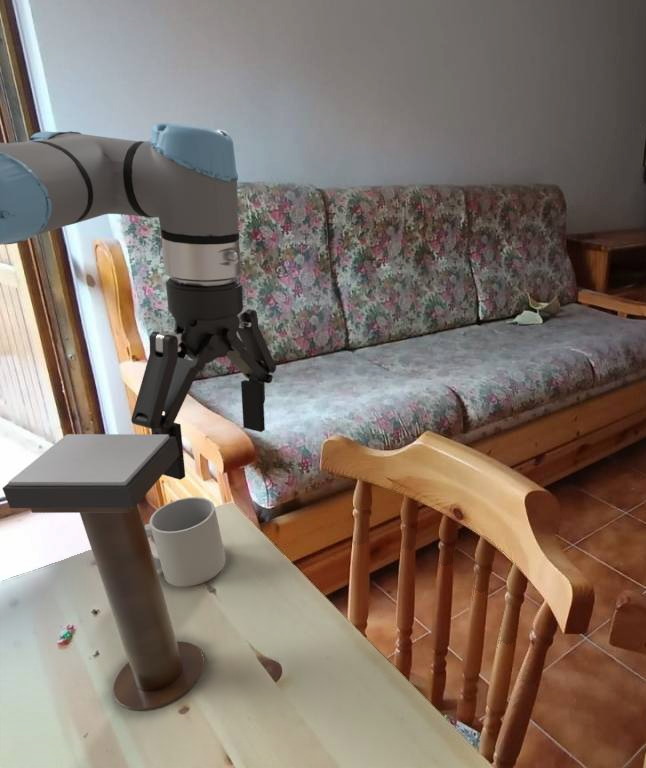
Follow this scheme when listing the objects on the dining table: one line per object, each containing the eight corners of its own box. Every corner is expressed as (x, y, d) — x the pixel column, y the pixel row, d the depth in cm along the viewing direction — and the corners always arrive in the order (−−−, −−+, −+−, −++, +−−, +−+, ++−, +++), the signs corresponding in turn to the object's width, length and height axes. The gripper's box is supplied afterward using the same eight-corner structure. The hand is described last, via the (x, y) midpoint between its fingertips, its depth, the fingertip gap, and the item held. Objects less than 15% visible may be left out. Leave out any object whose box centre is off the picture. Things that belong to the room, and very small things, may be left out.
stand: (98, 716, 62) (19, 508, 51) (141, 648, 70) (80, 454, 59) (184, 715, 62) (124, 508, 52) (218, 647, 70) (171, 454, 59)
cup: (222, 585, 78) (209, 528, 75) (133, 599, 76) (115, 540, 72) (230, 548, 85) (218, 493, 81) (149, 560, 82) (133, 504, 79)
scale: (6, 508, 51) (-4, 483, 50) (68, 454, 59) (61, 432, 58) (134, 508, 52) (127, 483, 51) (179, 454, 59) (174, 432, 58)
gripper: (136, 307, 56) (159, 509, 64) (302, 266, 79) (304, 419, 86) (71, 293, 58) (101, 491, 66) (251, 256, 81) (258, 407, 88)
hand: (216, 450), depth 76 cm, fingers open, 13 cm apart
